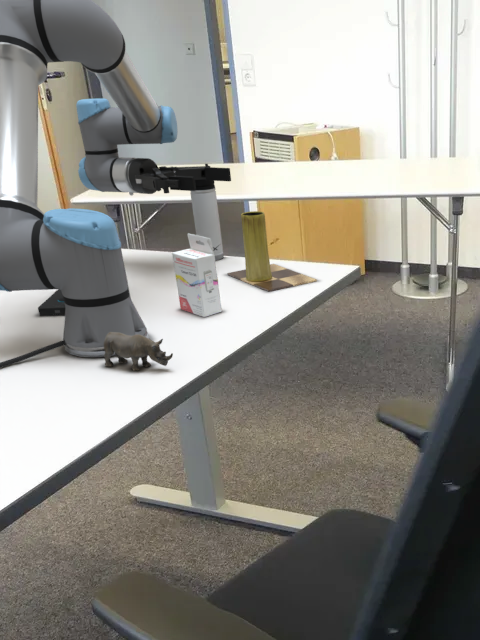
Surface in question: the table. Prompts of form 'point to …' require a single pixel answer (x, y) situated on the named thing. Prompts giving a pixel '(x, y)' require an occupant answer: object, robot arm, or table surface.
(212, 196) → the travel mug
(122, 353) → the rhino figurine
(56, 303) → the smart home device
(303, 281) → the board
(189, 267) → the ink cartridge box
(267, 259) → the vase
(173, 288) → the table surface
